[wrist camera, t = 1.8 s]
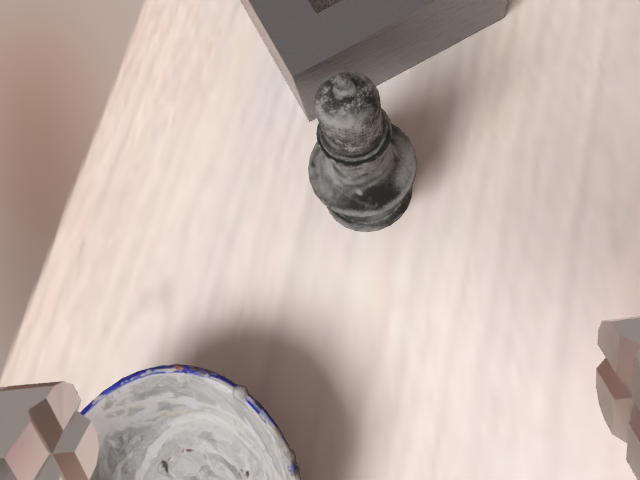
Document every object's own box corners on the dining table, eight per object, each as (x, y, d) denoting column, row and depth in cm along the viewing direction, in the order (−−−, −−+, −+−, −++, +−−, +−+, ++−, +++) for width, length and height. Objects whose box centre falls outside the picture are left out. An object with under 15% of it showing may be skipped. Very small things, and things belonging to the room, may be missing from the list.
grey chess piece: (348, 131, 35) (315, -4, 24) (434, 169, 33) (442, 43, 22) (301, 210, 34) (242, 108, 23) (387, 253, 32) (369, 167, 21)
